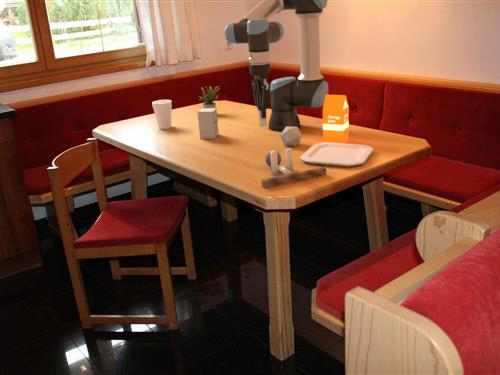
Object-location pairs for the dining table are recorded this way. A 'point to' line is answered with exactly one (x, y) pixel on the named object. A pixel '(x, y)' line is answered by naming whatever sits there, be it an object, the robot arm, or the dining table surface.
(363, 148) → the plate
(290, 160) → the pin
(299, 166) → the dining table surface
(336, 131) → the orange juice
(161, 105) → the foam cup
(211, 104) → the house plant
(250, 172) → the dining table surface
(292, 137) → the die
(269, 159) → the ball
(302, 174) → the board
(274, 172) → the pin
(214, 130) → the supplement box
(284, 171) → the front pin
